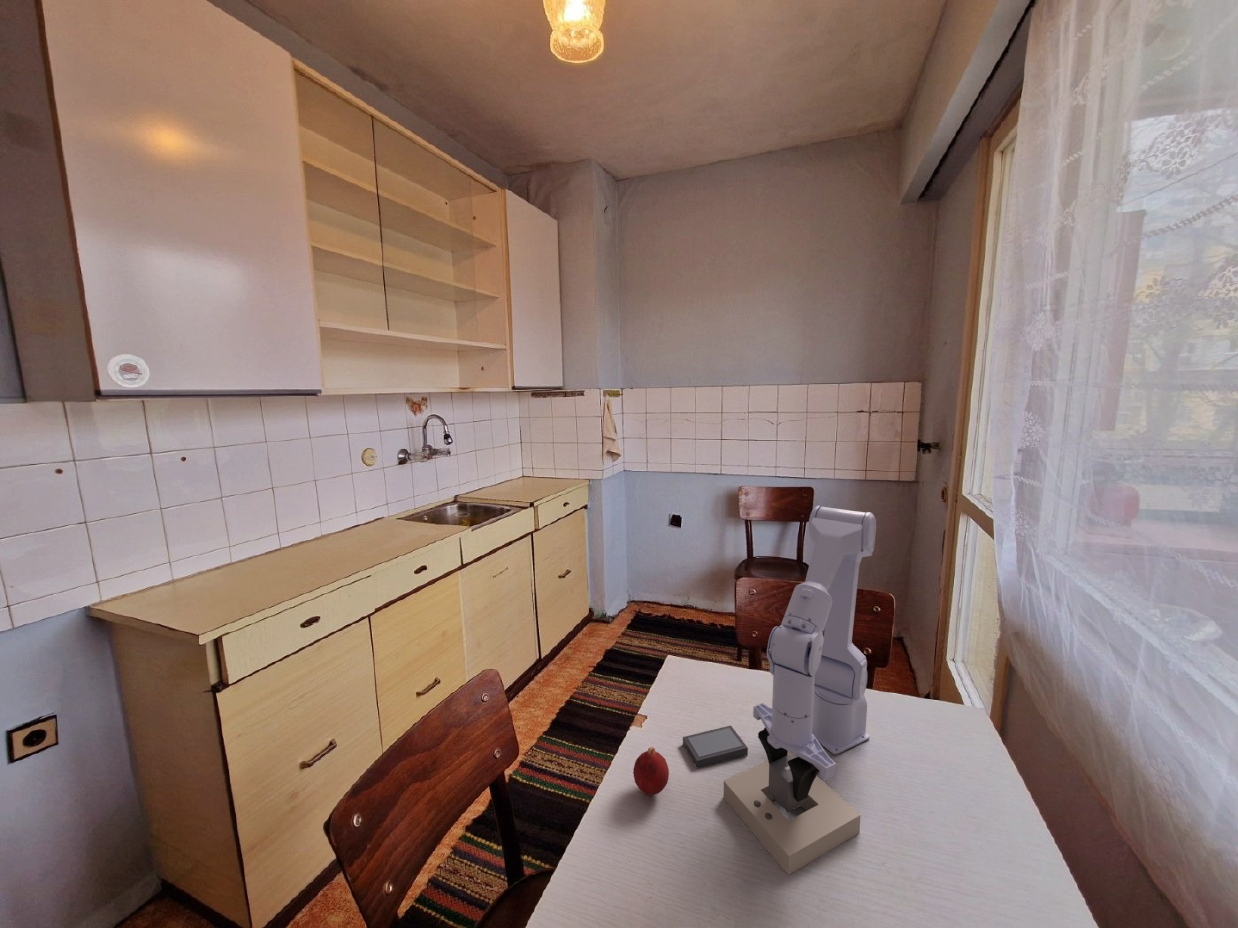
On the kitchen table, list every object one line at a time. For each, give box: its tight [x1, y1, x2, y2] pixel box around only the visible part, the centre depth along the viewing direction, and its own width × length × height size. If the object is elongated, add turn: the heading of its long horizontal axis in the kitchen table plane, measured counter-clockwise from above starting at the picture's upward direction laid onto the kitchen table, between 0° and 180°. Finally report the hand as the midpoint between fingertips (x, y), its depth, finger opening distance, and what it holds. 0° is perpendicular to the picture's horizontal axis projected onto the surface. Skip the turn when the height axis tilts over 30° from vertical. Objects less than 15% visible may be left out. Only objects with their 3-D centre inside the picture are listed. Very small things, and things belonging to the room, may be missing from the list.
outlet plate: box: [722, 751, 861, 876], centre depth 73 cm, size 14×14×3 cm
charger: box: [769, 755, 808, 813], centre depth 72 cm, size 4×4×5 cm
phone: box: [682, 725, 749, 769], centre depth 87 cm, size 10×6×2 cm, turn 106°
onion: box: [632, 746, 670, 796], centre depth 77 cm, size 6×6×8 cm
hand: (789, 786), depth 73 cm, fingers closed on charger, 4 cm apart
